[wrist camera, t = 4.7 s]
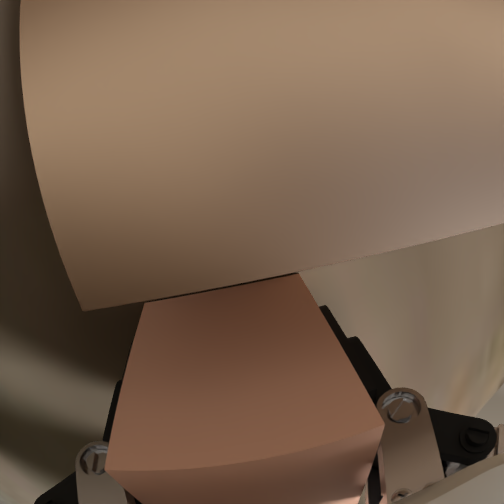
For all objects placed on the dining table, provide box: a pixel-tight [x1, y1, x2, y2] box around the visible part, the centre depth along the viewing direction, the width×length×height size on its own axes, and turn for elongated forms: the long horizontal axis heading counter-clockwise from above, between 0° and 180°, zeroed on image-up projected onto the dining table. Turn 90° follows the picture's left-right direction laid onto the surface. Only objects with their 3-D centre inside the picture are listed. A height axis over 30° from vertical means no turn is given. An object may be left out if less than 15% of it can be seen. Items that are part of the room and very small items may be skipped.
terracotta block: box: [104, 273, 385, 504], centre depth 8 cm, size 5×5×6 cm
